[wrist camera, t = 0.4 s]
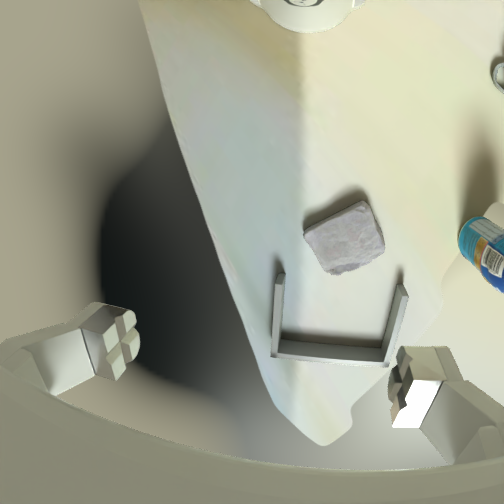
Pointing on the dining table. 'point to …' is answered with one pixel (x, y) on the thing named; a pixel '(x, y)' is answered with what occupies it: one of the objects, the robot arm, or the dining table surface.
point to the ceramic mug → (496, 75)
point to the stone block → (346, 239)
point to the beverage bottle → (484, 249)
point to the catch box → (337, 352)
